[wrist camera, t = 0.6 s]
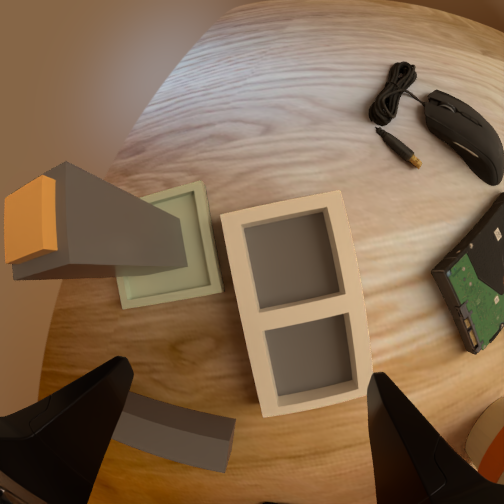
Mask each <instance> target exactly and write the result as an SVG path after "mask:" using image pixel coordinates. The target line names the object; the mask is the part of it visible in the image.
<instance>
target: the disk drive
mask: <svg viewBox="0 0 504 504" xmlns="http://www.w3.org/2000/svg"><path fill="white" fill-rule="evenodd" d="M431 273H432V275H433V277H434V279H435V281H436V282H437V284H438V286H439V289H440V291H441V293H442V295H443V297H444V299H445V301H446V303H447V305H448V307H449V310H450V311H451V313H452V316H453V318H454V321H455V323H456V325H457V328H458V330H459V333H460V335H461V337H462V340H463V342H464V345H465V348H466V350H467V351H468V352H470V353H472V354H475V355H476V354H477V353H478V352H479V351H480V350H481V349H482V350H484V349H485V348H486V346H487V345H488V344H489V343H491V342H492V341H493V340H494V339H495V338H496V336H497V335H498V334H499V332H500V331H501V329H502V328H503V327H504V192H503V193H502V194H501V195H500V196H499V197H498V198H497V199H496V201H495V202H494V203H493V205H492V206H491V208H490V209H489V210H488V211H487V212H486V214H485V215H484V216H483V217H482V218H481V219H480V221H479V222H478V223H477V224H476V225H475V227H474V228H473V229H472V230H471V231H470V232H469V233H468V234H467V235H466V236H465V237H464V239H463V240H462V241H461V242H460V243H459V244H458V245H457V246H456V247H455V248H454V249H453V250H452V251H450V252H449V253H448V254H447V255H446V256H445V257H444V259H443V260H442V261H441V262H440V263H439V264H438V265H437V266H435V268H434V269H433V270H432V271H431Z"/></svg>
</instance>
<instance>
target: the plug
mask: <svg viewBox="0 0 504 504" xmlns="http://www.w3.org/2000/svg"><path fill="white" fill-rule="evenodd" d="M4 241H5V260H6V264H12V269H13V278H14V280H46V279H76V278H102V277H125V276H145V275H150V274H155V273H160V272H165V271H169V270H174V269H179V268H184V267H188V264H187V258H186V253H185V247H184V241H183V236H182V229H181V223H180V219H179V218H177V217H175V216H173V215H171V214H169V213H167V212H165V211H163V210H161V209H159V208H157V207H156V206H154V205H152V204H150V203H148V202H146V201H144V200H142V199H140V198H138V197H136V196H134V195H132V194H130V193H128V192H126V191H124V190H122V189H120V188H118V187H116V186H114V185H112V184H110V183H108V182H106V181H104V180H102V179H100V178H98V177H96V176H95V175H93V174H90V173H89V172H87V171H85V170H83V169H81V168H79V167H77V166H75V165H73V164H71V163H69V162H67V161H66V162H64V163H62V164H60V165H58V166H56V167H55V168H52V169H51V170H49V171H47V172H45V173H44V174H42V175H40V176H38V177H37V178H35V179H33V180H32V181H30V182H29V183H27V184H25V185H24V186H22V187H20V188H19V189H17V190H16V191H14V192H13V193H11V195H9V196H8V197H6V198H5V210H4Z"/></svg>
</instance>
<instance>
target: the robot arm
mask: <svg viewBox="0 0 504 504" xmlns="http://www.w3.org/2000/svg"><path fill="white" fill-rule="evenodd" d="M133 376H134V373H133V370H132V368H131V365H130V363H129V361H128V359H127V358H126V357H122V356H116V357H114V358H112V359H111V360H109V361H107V362H106V363H104V364H102V365H101V366H99V367H97V368H96V369H94V370H92V371H90V372H89V373H87V374H85V375H84V376H82V377H80V378H79V379H77V380H75V381H74V382H72V383H70V384H68V385H67V386H65V387H63V388H62V389H60V390H58V391H56V392H55V393H53V394H52V395H49V396H48V397H46V398H44V399H42V400H40V401H39V402H37V403H35V404H33V405H31V406H29V407H26V408H24V409H22V410H20V411H17V412H15V413H13V414H10V415H8V416H5V417H0V504H87V503H88V500H89V497H90V494H91V491H92V488H93V484H94V482H95V479H96V477H97V474H98V471H99V469H100V466H101V463H102V461H103V458H104V455H105V453H106V450H107V448H108V445H109V443H110V440H111V438H112V435H113V433H114V430H115V428H116V425H117V423H118V421H119V418H120V416H121V413H122V411H123V408H124V406H125V403H126V399H127V396H128V393H129V389H130V386H131V383H132V380H133ZM367 404H368V429H369V438H370V445H371V452H372V460H373V468H374V477H375V486H376V498H377V504H504V485H503V484H497V483H494V482H491V481H489V480H487V479H486V478H484V477H483V476H482V475H481V474H480V473H478V472H477V471H476V470H475V469H474V468H473V467H472V466H471V465H469V464H468V463H467V462H466V461H465V460H464V459H463V458H462V457H461V456H459V455H458V454H457V453H456V452H455V451H454V450H453V449H452V447H451V446H450V445H449V444H448V443H447V442H446V441H445V440H444V439H443V437H442V436H440V434H439V433H438V432H437V431H436V430H435V428H434V427H433V426H432V425H431V424H430V423H429V422H428V421H427V419H426V418H425V417H424V416H423V415H422V414H421V413H420V411H419V410H418V409H417V408H416V407H415V406H414V405H413V404H412V402H411V401H410V400H409V399H408V398H407V397H406V396H405V395H404V394H403V392H402V391H401V390H400V389H399V388H398V387H397V386H396V385H395V383H394V382H393V381H392V380H391V379H390V378H389V377H388V376H387V375H386V374H385V373H384V372H376V373H373V374H372V375H371V378H370V382H369V385H368V388H367ZM263 504H276V503H269V502H265V503H263Z"/></svg>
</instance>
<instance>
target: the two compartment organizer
mask: <svg viewBox="0 0 504 504" xmlns="http://www.w3.org/2000/svg"><path fill="white" fill-rule="evenodd" d="M220 217H221V222H222V228H223V233H224V238H225V243H226V249H227V254H228V259H229V264H230V269H231V274H232V279H233V284H234V289H235V293H236V298H237V303H238V308H239V313H240V317H241V322H242V327H243V331H244V336H245V341H246V345H247V350H248V354H249V359H250V363H251V368H252V372H253V376H254V381H255V385H256V389H257V394H258V398H259V402H260V406H261V411H262V415H263V418H264V417H271V416H277V415H284V414H289V413H295V412H300V411H305V410H310V409H315V408H320V407H324V406H328V405H333V404H337V403H341V402H344V401H348V400H352V399H355V398H359V397H362V396H366V395H367V388H368V385H369V382H370V378H371V375H372V374H373V366H372V356H371V347H370V338H369V330H368V323H367V316H366V309H365V302H364V296H363V290H362V285H361V279H360V274H359V268H358V263H357V258H356V253H355V249H354V244H353V239H352V235H351V230H350V226H349V222H348V218H347V214H346V210H345V206H344V202H343V198H342V194H341V191H340V190H337V191H332V192H326V193H321V194H315V195H310V196H305V197H300V198H295V199H290V200H285V201H280V202H275V203H270V204H265V205H261V206H256V207H251V208H247V209H242V210H238V211H233V212H229V213H225V214H220Z"/></svg>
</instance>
